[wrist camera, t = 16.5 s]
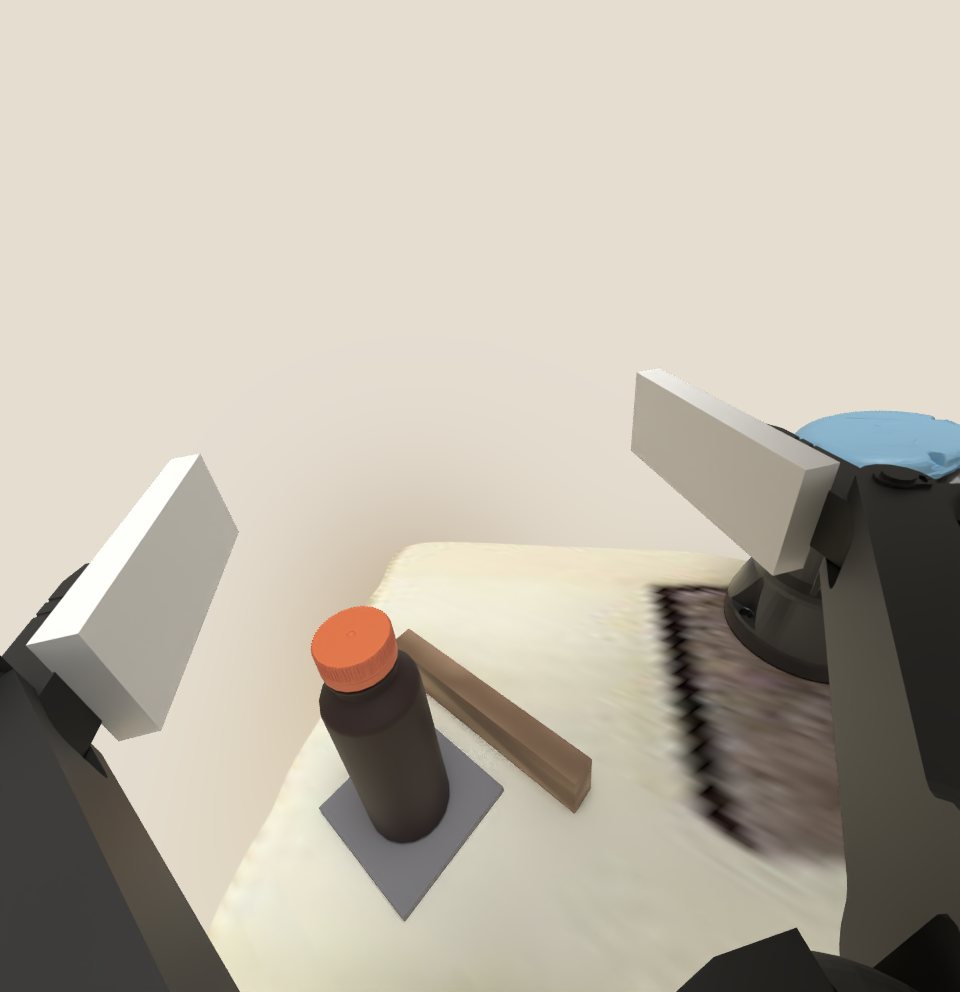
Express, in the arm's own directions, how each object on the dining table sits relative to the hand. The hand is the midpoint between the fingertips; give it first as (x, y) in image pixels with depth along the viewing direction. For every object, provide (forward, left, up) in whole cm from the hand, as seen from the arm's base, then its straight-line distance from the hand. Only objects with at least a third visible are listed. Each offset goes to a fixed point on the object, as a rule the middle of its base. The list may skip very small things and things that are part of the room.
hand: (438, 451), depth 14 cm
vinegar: (0, -10, -35) cm, 37 cm away
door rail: (-9, -10, -36) cm, 38 cm away
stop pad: (0, -10, -36) cm, 37 cm away
